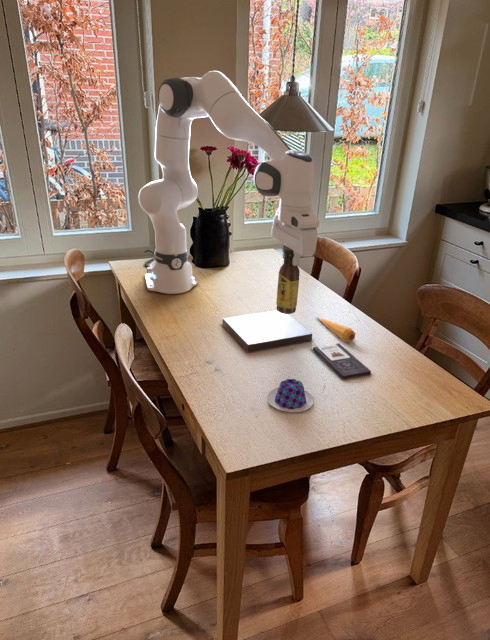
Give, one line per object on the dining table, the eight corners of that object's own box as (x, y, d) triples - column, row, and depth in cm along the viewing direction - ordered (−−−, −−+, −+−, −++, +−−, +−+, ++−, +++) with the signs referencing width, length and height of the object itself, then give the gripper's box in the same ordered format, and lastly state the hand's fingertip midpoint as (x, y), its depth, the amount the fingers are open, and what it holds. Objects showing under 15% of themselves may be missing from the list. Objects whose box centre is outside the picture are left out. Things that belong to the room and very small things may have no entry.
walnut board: (222, 325, 173) (222, 318, 172) (281, 316, 182) (282, 309, 181) (248, 352, 158) (248, 344, 157) (311, 340, 167) (312, 333, 166)
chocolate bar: (343, 376, 147) (313, 347, 161) (342, 379, 147) (312, 350, 161) (370, 371, 150) (338, 343, 164) (370, 374, 151) (338, 346, 165)
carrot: (354, 345, 168) (359, 331, 167) (343, 342, 165) (349, 328, 164) (319, 325, 184) (324, 313, 183) (309, 322, 181) (314, 310, 180)
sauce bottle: (273, 307, 166) (277, 244, 156) (292, 306, 167) (298, 243, 157) (279, 315, 160) (283, 250, 150) (299, 314, 162) (304, 250, 152)
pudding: (323, 406, 135) (325, 389, 133) (284, 419, 129) (285, 401, 127) (295, 384, 144) (297, 367, 141) (257, 395, 138) (258, 378, 135)
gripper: (267, 206, 155) (265, 252, 162) (302, 224, 140) (297, 274, 147) (286, 205, 158) (283, 250, 165) (323, 222, 142) (317, 272, 149)
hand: (290, 262), depth 156 cm, fingers closed on sauce bottle, 4 cm apart
